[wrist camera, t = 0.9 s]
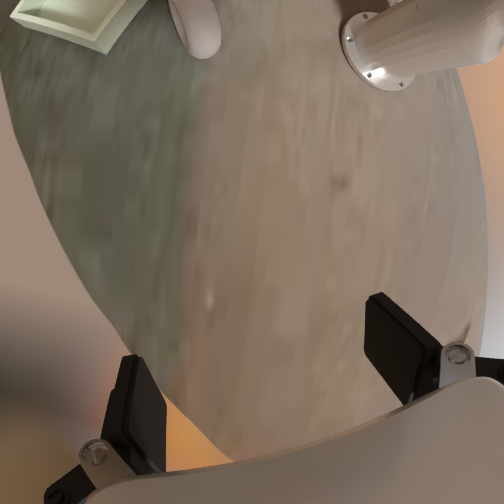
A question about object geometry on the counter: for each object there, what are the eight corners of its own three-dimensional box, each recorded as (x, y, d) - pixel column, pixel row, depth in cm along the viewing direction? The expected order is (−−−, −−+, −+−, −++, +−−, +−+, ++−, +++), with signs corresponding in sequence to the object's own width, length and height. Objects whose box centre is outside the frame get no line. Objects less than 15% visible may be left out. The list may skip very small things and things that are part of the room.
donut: (221, 63, 30) (232, 32, 20) (193, 73, 30) (194, 44, 20) (193, 1, 26) (195, -41, 17) (166, 10, 26) (160, -31, 17)
